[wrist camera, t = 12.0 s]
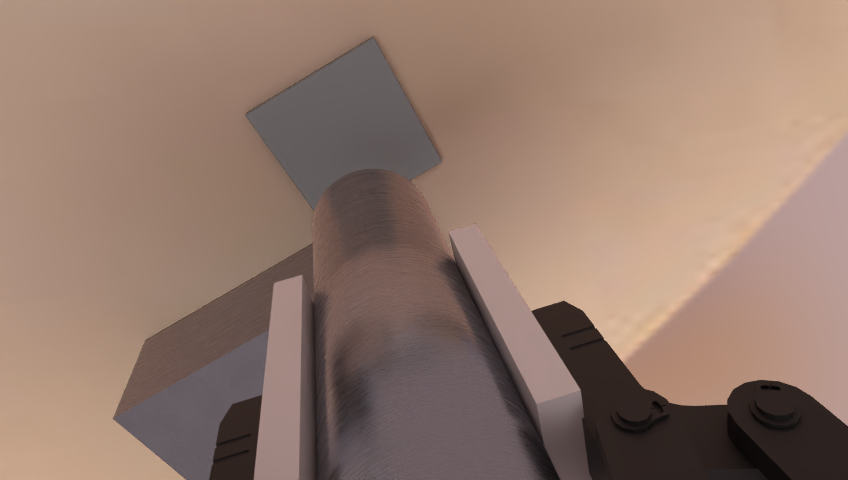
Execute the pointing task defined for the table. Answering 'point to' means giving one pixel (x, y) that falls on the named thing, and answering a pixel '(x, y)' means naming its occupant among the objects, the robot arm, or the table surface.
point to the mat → (344, 124)
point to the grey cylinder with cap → (406, 349)
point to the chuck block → (204, 370)
